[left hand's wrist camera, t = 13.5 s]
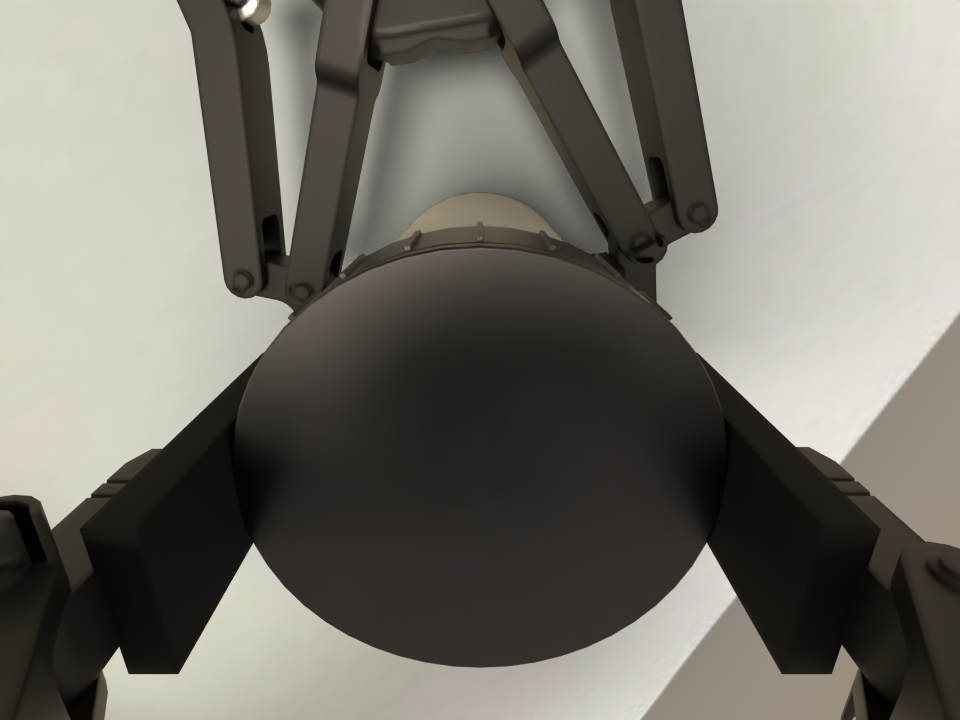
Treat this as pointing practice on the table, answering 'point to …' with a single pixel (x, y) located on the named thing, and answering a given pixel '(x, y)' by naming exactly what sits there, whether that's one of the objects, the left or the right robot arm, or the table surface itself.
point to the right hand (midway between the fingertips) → (497, 442)
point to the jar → (479, 215)
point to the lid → (480, 450)
